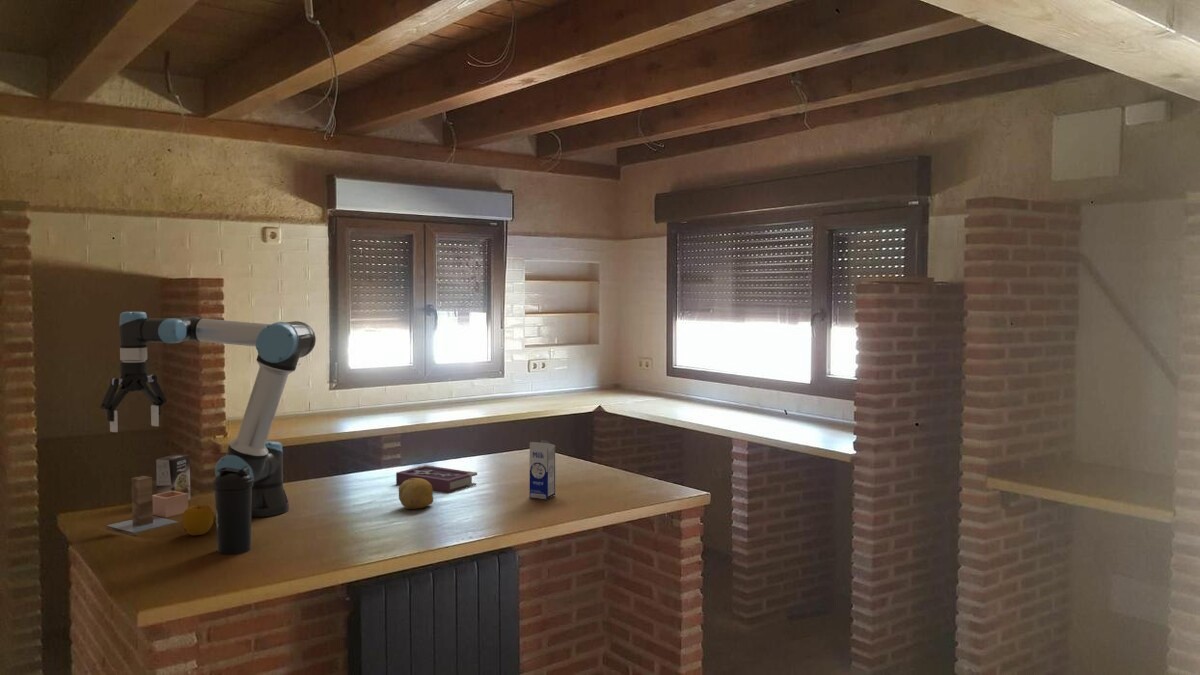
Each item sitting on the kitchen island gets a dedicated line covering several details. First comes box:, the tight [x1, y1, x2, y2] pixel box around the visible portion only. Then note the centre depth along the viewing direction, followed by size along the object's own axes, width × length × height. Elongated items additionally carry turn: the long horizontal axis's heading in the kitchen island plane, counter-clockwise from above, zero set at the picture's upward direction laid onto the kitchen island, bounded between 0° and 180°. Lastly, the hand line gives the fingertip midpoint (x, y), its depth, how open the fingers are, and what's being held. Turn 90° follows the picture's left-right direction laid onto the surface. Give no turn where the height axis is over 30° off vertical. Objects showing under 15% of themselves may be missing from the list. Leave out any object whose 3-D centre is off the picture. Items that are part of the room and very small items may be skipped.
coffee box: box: [155, 454, 191, 500], centre depth 293 cm, size 9×6×16 cm
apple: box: [181, 504, 215, 537], centre depth 258 cm, size 8×8×9 cm
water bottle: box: [212, 467, 253, 556], centre depth 243 cm, size 10×10×23 cm
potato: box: [398, 478, 434, 510], centre depth 292 cm, size 10×12×10 cm
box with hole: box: [152, 491, 189, 519], centre depth 278 cm, size 8×8×7 cm
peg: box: [130, 475, 154, 526], centre depth 265 cm, size 4×4×14 cm
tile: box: [106, 515, 179, 537], centre depth 266 cm, size 14×14×1 cm
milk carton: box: [529, 439, 556, 500], centre depth 308 cm, size 7×7×20 cm
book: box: [395, 464, 478, 494], centre depth 326 cm, size 25×16×5 cm, turn 59°
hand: (134, 428), depth 274 cm, fingers open, 13 cm apart
